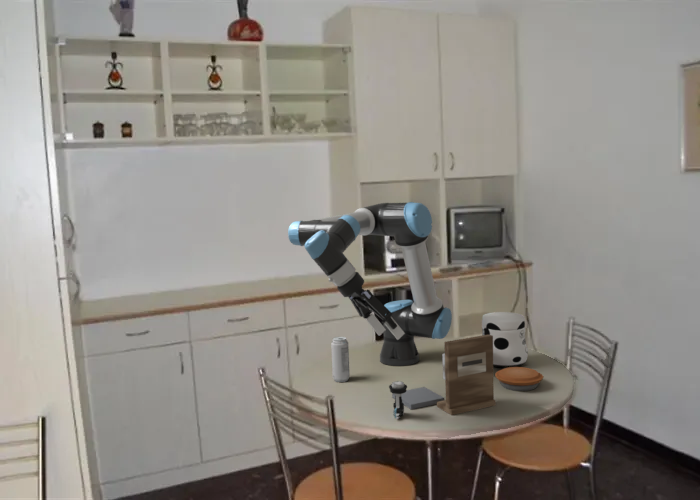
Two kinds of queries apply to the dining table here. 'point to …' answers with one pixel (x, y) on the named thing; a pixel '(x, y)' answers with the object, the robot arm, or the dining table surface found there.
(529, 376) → the pie
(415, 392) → the mat
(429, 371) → the dining table surface
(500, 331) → the milk container
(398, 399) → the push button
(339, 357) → the energy drink can
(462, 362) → the mounted unit
